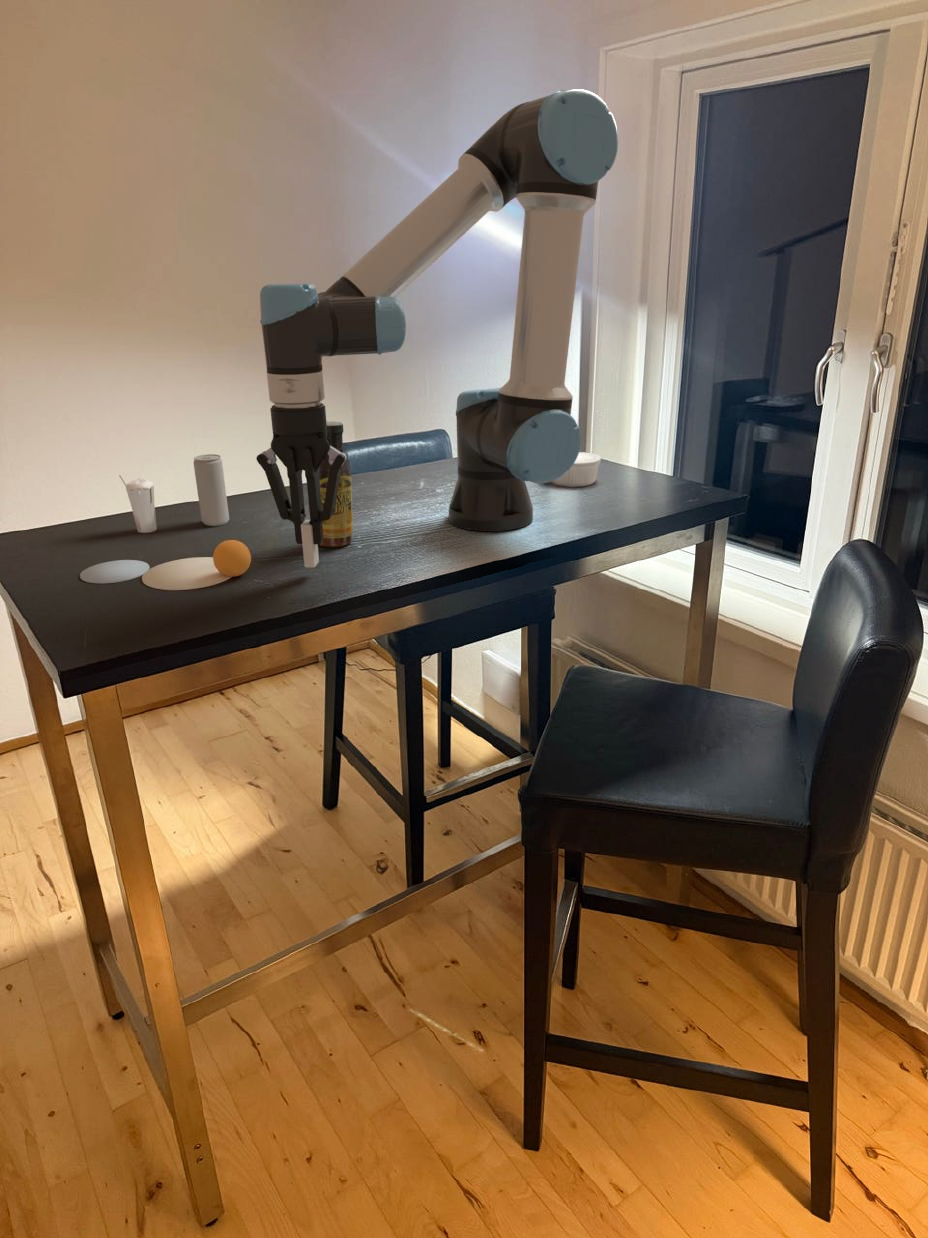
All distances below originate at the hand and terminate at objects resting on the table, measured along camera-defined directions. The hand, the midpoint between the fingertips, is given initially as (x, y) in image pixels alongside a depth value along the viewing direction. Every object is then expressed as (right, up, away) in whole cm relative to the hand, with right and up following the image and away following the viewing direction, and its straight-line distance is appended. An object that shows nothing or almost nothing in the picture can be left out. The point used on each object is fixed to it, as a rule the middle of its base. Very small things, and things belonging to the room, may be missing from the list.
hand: (311, 564), depth 127 cm
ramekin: (+45, +20, +51) cm, 72 cm away
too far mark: (-31, -1, +4) cm, 31 cm away
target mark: (-19, -1, +3) cm, 19 cm away
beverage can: (-22, +9, +27) cm, 36 cm away
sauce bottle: (+1, +4, +15) cm, 16 cm away
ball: (-12, +1, 0) cm, 12 cm away
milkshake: (-34, +7, +23) cm, 42 cm away
